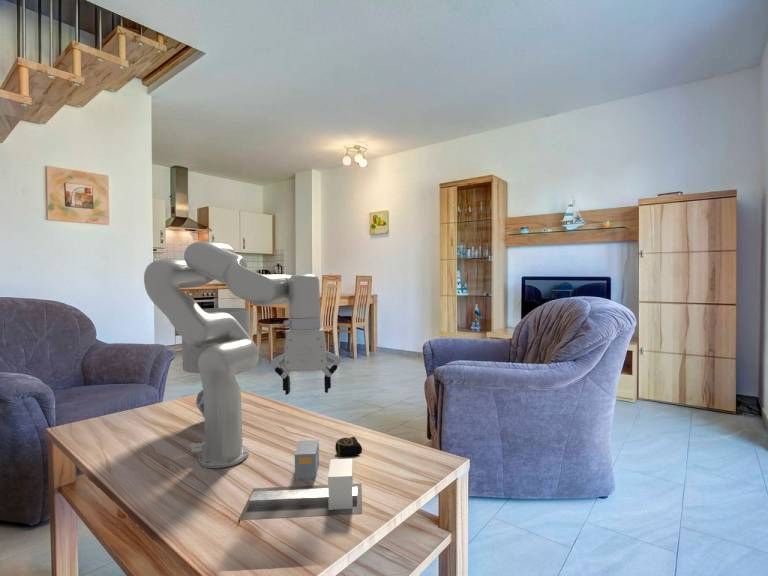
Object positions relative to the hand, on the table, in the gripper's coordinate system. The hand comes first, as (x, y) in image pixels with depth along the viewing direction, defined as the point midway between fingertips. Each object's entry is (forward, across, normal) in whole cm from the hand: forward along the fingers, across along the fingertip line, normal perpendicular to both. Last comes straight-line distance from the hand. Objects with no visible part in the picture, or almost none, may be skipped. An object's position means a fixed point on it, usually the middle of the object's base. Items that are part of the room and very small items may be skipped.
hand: (307, 392), depth 101 cm
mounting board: (+21, 0, -14) cm, 25 cm away
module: (+21, 0, 0) cm, 21 cm away
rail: (+21, 0, -14) cm, 25 cm away
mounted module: (+20, +8, -14) cm, 26 cm away
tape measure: (+21, +10, +11) cm, 26 cm away
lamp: (+20, -35, +40) cm, 57 cm away
